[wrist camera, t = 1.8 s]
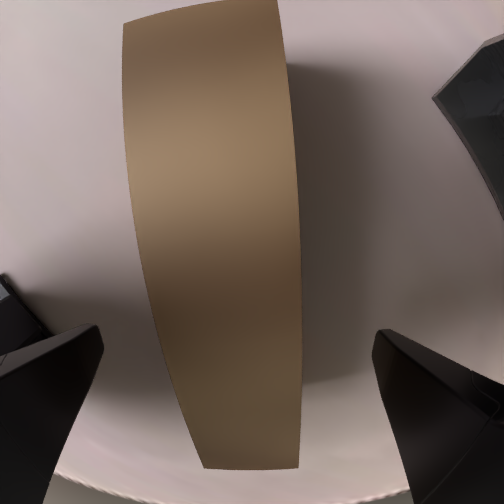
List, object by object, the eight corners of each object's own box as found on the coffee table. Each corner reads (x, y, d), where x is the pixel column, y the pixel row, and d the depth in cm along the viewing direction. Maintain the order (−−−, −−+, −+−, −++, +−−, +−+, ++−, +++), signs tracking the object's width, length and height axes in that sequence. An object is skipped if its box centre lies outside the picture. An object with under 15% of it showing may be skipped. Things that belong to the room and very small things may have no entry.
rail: (291, 384, 13) (298, 468, 8) (220, 386, 13) (203, 468, 9) (272, 63, 9) (276, -4, 4) (179, 75, 9) (123, 23, 5)
